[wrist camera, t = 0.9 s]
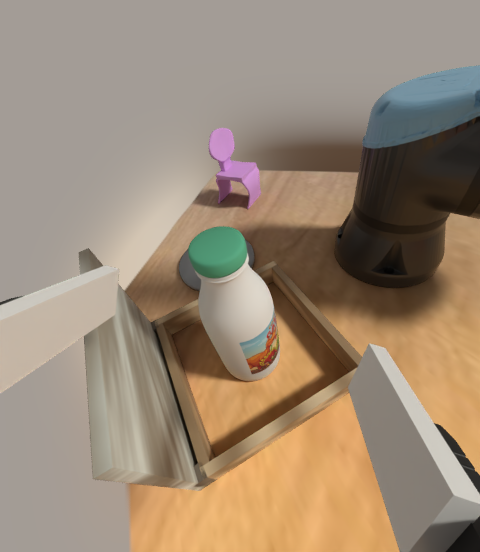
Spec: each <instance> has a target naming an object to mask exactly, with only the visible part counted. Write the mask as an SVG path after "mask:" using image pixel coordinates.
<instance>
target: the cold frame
mask: <svg viewBox="0 0 480 552" xmlns="http://www.w3.org/2000/svg"><path fill="white" fill-rule="evenodd" d="M79 265H80V275H81V274H84V273H86V272H89V271H92V270H94V269H97V268H100V267H102V266H103V265H102V264H101V262H100V261H99V260H98V259H97V258H96V257H95V255H94V254H93V253H92V252H91V251H90V249H86V250H83V251H81V252H79ZM254 272H256V273H257V274H258V275H259V276H260V277H261V278H262V280H263V281H264V282H265V284H266V285H268V284H270V283H272V282H274V283H275V284H276V286H277V287H278V288H279V289H280V290H281V291H282V293H283V294H284V295H285V296H286V297H287V299H288V300H289V301H290V302H291V303H292V305H293V306H294V307H295V308H296V309H297V311H298V312H299V313H300V314H301V315H302V317H303V318H304V319H305V320H306V321H307V322H308V324H309V325H310V326H311V327H312V328H313V330H314V331H315V332H316V333H317V334H318V336H319V337H320V338H321V339H322V340H323V342H324V343H325V344H326V345H327V346H328V348H329V349H330V350H331V351H332V352H333V353H334V355H335V356H336V357H337V358H338V359H339V361H340V362H341V363H342V364H343V365H344V367H345V368H346V369H347V370H348V371H349V373H348V374H346V375H344V376H343V377H341V378H340V379H338V380H337V381H335V382H333V383H332V384H330V385H329V386H327V387H326V388H324V389H323V390H321V391H319V392H318V393H316V394H315V395H313V396H312V397H310V398H308V399H307V400H305V401H304V402H302V403H301V404H299V405H297V406H296V407H294V408H293V409H291V410H290V411H288V412H286V413H285V414H283V415H282V416H280V417H279V418H277V419H275V420H274V421H272V422H271V423H269V424H268V425H266V426H264V427H263V428H261V429H260V430H258V431H257V432H255V433H254V434H252V435H250V436H249V437H247V438H246V439H244V440H243V441H241V442H239V443H238V444H236V445H235V446H233V447H232V448H230V449H228V450H227V451H225V452H224V453H222V454H221V455H219V456H217V457H216V458H215V456H214V453H213V451H212V448H211V445H210V442H209V439H208V436H207V434H206V431H205V428H204V425H203V422H202V419H201V417H200V414H199V411H198V408H197V405H196V402H195V400H194V397H193V394H192V391H191V388H190V385H189V383H188V380H187V377H186V374H185V371H184V369H183V366H182V363H181V360H180V357H179V354H178V352H177V349H176V346H175V343H174V340H173V337H172V334H174V333H176V332H178V331H180V330H182V329H184V328H186V327H188V326H189V325H191V324H193V323H195V322H197V321H199V320H201V317H200V314H199V306H198V300H199V299H197V300H195V301H193V302H191V303H189V304H187V305H185V306H183V307H181V308H179V309H177V310H175V311H173V312H171V313H169V314H167V315H165V316H163V317H161V318H159V319H157V320H155V321H153V322H150V321H149V320H148V319H147V318H146V316H145V315H144V314H143V313H142V312H141V310H140V309H139V308H138V307H137V306H136V304H135V303H134V302H133V301H132V300H131V298H130V297H129V296H128V295H127V294H126V292H125V291H124V290H123V289H122V288H121V286H120V285H119V284H118V290H117V302H116V314H115V315H114V316H112V317H111V318H109V319H108V320H107V321H105V322H104V323H102V324H101V325H99V326H98V327H96V328H95V329H93V330H92V331H91V332H89V333H88V334H86V335H85V336H84V344H85V360H86V376H87V392H88V407H89V424H90V439H91V456H92V472H93V479H96V480H105V481H114V482H123V483H133V484H142V485H151V486H160V487H169V488H179V489H188V490H197V491H200V490H202V489H203V488H205V487H206V486H208V485H209V484H211V483H212V482H214V481H215V480H217V479H218V478H220V477H221V476H223V475H224V474H226V473H227V472H229V471H230V470H232V469H234V468H235V467H237V466H238V465H240V464H241V463H243V462H244V461H246V460H247V459H249V458H250V457H252V456H253V455H255V454H256V453H258V452H259V451H261V450H263V449H264V448H266V447H267V446H269V445H270V444H272V443H273V442H275V441H276V440H278V439H279V438H281V437H282V436H284V435H285V434H287V433H288V432H290V431H291V430H293V429H295V428H296V427H298V426H299V425H301V424H302V423H304V422H305V421H307V420H308V419H310V418H311V417H313V416H314V415H316V414H317V413H319V412H320V411H322V410H324V409H325V408H327V407H328V406H330V405H331V404H333V403H334V402H336V401H337V400H339V399H340V398H342V397H343V396H345V395H346V394H348V393H349V390H348V386H349V384H350V382H351V380H352V378H353V376H354V374H355V372H356V370H357V367H358V365H359V363H360V361H361V359H362V356H361V355H360V354H359V353H358V352H357V351H356V350H355V349H354V348H353V347H352V346H351V344H350V343H349V342H348V341H347V340H346V339H345V338H344V337H343V336H342V335H341V334H340V332H339V331H338V330H337V329H336V328H335V327H334V326H333V325H332V324H331V323H330V322H329V321H328V319H327V318H326V317H325V316H324V315H323V314H322V313H321V312H320V311H319V310H318V309H317V307H316V306H315V305H314V304H313V303H312V302H311V301H310V300H309V299H308V298H307V297H306V295H305V294H304V293H303V292H302V291H301V290H300V289H299V288H298V287H297V286H296V285H295V283H294V282H293V281H292V280H291V279H290V278H289V277H288V276H287V275H286V274H285V273H284V271H283V270H282V269H281V268H280V267H279V266H278V265H277V264H276V263H275V262H274V261H272V262H270V263H268V264H266V265H264V266H262V267H260V268H258V269H256V270H254Z"/></svg>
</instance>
